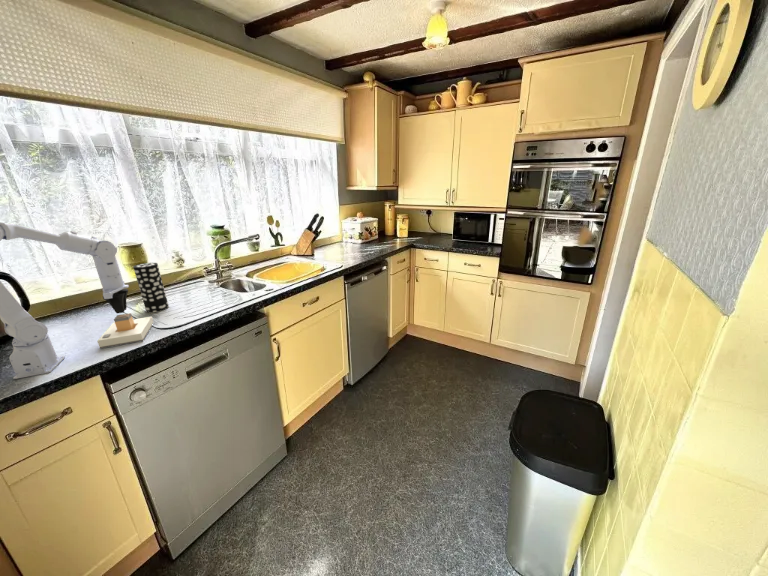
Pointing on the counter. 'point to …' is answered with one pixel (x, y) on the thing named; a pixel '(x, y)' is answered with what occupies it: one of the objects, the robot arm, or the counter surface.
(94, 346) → the counter surface
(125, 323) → the plug
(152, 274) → the white-spotted black cylinder
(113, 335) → the socket
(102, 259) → the robot arm
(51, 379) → the counter surface
